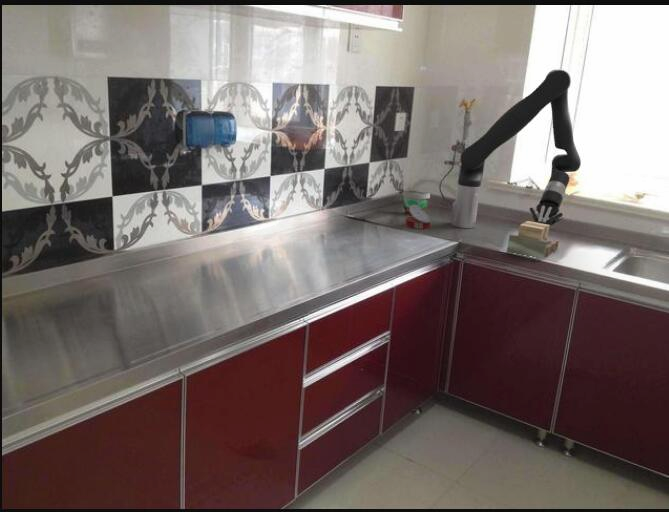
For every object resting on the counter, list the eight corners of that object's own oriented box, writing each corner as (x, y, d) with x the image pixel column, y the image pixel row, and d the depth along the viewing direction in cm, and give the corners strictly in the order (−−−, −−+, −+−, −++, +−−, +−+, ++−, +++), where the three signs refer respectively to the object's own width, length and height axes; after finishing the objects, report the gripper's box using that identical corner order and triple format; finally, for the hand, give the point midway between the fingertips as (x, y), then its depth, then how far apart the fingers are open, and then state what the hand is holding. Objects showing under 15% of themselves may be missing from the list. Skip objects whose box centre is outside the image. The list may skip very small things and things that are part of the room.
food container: (399, 214, 279) (401, 192, 277) (400, 211, 285) (402, 189, 282) (427, 217, 278) (430, 195, 275) (428, 215, 283) (430, 192, 281)
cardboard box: (525, 239, 240) (528, 220, 238) (546, 243, 236) (549, 224, 234) (516, 243, 231) (519, 225, 229) (539, 248, 227) (542, 229, 225)
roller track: (523, 242, 248) (526, 225, 246) (557, 249, 242) (560, 232, 240) (506, 252, 232) (509, 234, 230) (542, 259, 225) (545, 242, 223)
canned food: (420, 235, 266) (432, 214, 265) (426, 238, 256) (440, 217, 256) (397, 221, 264) (410, 200, 263) (403, 224, 254) (416, 203, 253)
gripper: (535, 186, 246) (520, 222, 239) (570, 192, 239) (556, 229, 232) (536, 198, 251) (522, 234, 245) (571, 204, 245) (557, 241, 238)
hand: (538, 231), depth 238 cm, fingers closed
